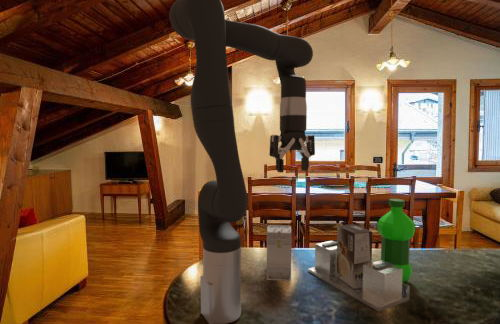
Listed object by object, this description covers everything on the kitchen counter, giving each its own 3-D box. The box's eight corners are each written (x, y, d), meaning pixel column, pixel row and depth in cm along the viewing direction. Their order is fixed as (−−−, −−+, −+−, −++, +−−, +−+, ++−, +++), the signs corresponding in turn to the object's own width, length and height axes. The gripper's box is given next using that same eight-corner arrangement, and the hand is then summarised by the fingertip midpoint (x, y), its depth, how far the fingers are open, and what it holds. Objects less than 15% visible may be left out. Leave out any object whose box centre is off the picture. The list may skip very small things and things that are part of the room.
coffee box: (372, 286, 94) (374, 231, 92) (353, 289, 92) (355, 233, 90) (352, 273, 102) (354, 223, 101) (335, 276, 100) (336, 225, 99)
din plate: (378, 311, 82) (379, 274, 81) (307, 271, 107) (308, 242, 106) (409, 300, 88) (410, 265, 87) (335, 264, 112) (335, 237, 112)
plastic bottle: (414, 278, 101) (417, 199, 100) (409, 291, 93) (412, 205, 91) (380, 270, 107) (383, 195, 105) (372, 282, 98) (375, 201, 96)
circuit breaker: (290, 263, 114) (290, 220, 113) (291, 280, 100) (291, 233, 98) (268, 262, 114) (268, 220, 113) (266, 279, 100) (266, 232, 99)
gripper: (304, 116, 99) (304, 169, 100) (264, 114, 92) (264, 171, 93) (321, 114, 92) (320, 171, 94) (279, 112, 85) (279, 174, 87)
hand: (292, 171), depth 93 cm, fingers open, 8 cm apart
